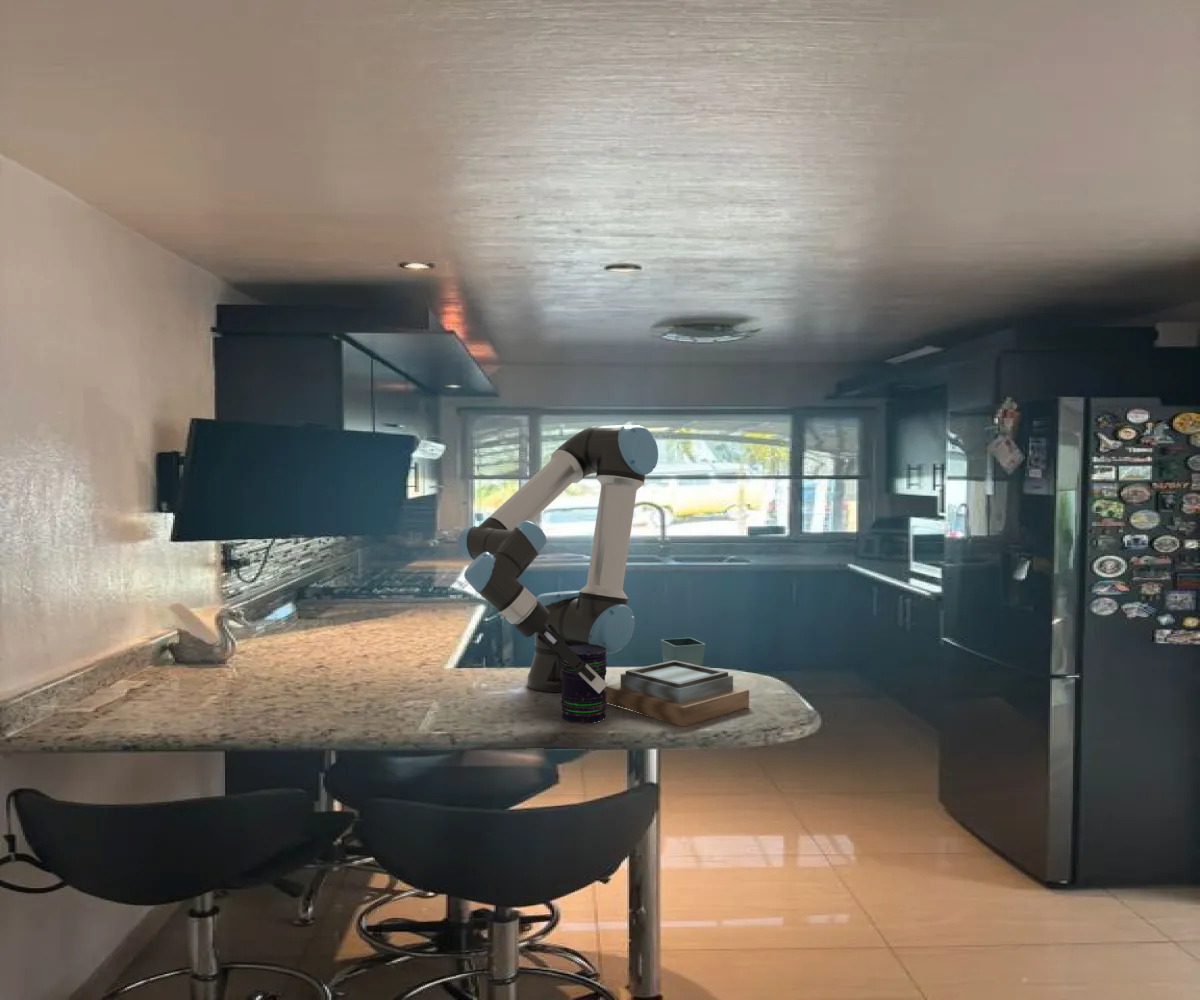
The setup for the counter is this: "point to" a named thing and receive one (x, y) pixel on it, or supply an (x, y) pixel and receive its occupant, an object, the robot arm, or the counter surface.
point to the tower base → (679, 708)
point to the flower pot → (683, 650)
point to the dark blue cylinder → (583, 687)
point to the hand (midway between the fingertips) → (597, 682)
